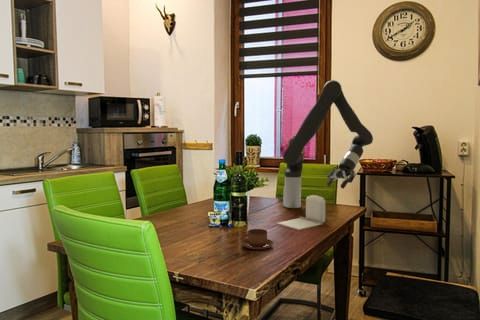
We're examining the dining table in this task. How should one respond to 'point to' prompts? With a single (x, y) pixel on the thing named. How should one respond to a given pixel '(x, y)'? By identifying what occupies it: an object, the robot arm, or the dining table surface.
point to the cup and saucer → (256, 239)
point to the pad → (300, 223)
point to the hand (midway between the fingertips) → (334, 186)
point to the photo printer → (315, 208)
